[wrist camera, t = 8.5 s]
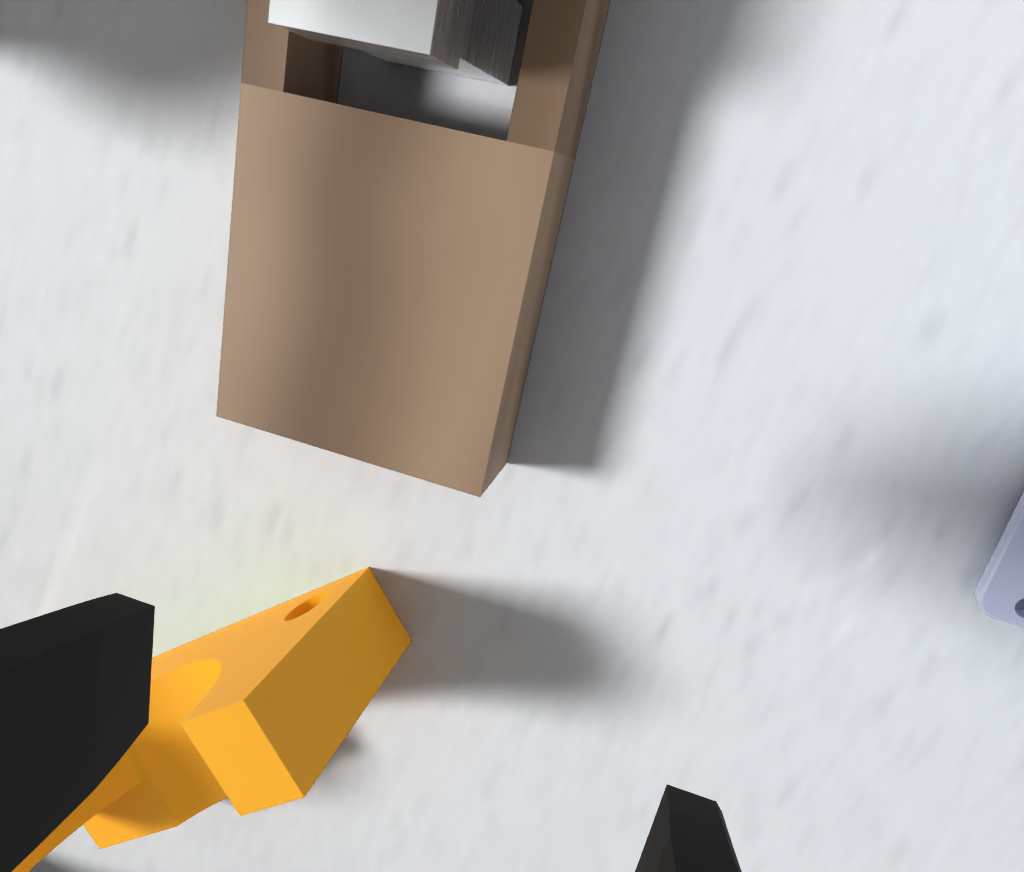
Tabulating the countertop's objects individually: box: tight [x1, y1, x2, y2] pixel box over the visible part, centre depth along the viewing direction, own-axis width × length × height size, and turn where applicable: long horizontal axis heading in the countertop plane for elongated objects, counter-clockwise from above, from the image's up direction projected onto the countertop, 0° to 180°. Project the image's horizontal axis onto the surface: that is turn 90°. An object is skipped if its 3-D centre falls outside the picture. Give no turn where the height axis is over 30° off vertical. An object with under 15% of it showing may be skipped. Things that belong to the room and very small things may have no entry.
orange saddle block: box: [12, 567, 412, 872], centre depth 21 cm, size 12×4×6 cm, turn 119°
